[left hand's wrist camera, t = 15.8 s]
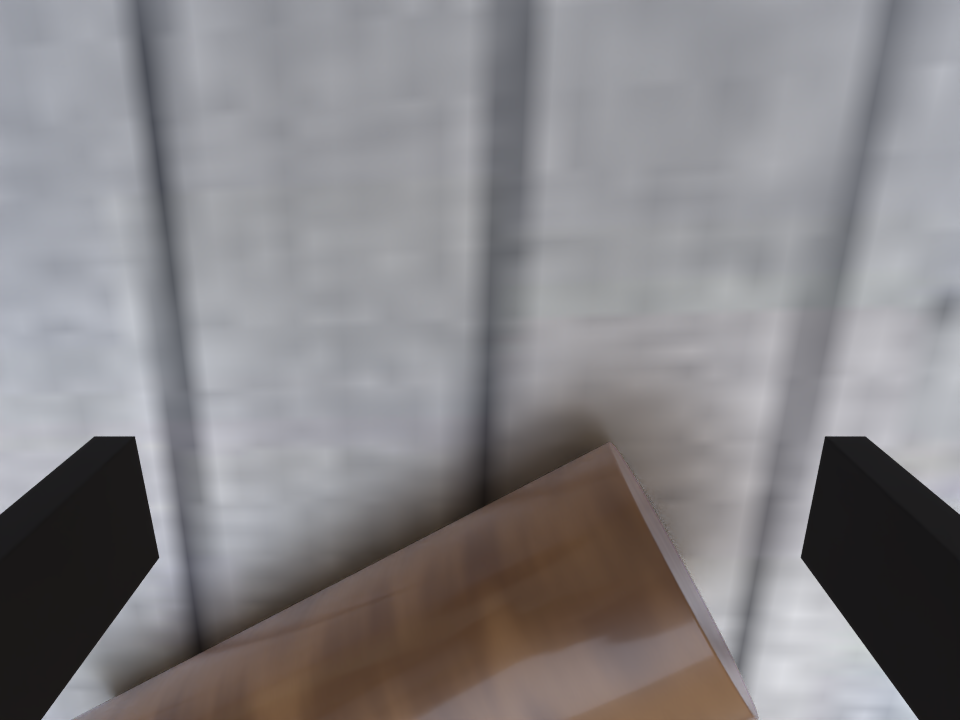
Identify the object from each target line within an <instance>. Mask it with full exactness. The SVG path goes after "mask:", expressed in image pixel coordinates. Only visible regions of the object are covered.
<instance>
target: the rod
mask: <svg viewBox="0 0 960 720" xmlns="http://www.w3.org/2000/svg"><path fill="white" fill-rule="evenodd" d="M72 720H758V714H757V711H756V708H755V705H754V703H753V700H752V698H751V696H750V693H749V691H748V689H747V687H746V685H745V682H744V680H743V678H742V676H741V674H740V672H739V670H738V668H737V666H736V663H735V661H734V659H733V657H732V655H731V653H730V651H729V649H728V647H727V645H726V643H725V641H724V639H723V637H722V635H721V633H720V631H719V629H718V627H717V625H716V623H715V621H714V620H713V618H712V616H711V614H710V612H709V610H708V608H707V606H706V604H705V602H704V600H703V598H702V596H701V595H700V593H699V591H698V589H697V587H696V585H695V583H694V581H693V579H692V577H691V576H690V574H689V572H688V570H687V568H686V566H685V564H684V563H683V561H682V559H681V557H680V555H679V553H678V552H677V550H676V548H675V546H674V544H673V542H672V541H671V539H670V537H669V535H668V533H667V531H666V530H665V528H664V526H663V524H662V523H661V521H660V519H659V517H658V515H657V514H656V512H655V510H654V508H653V507H652V505H651V503H650V501H649V500H648V498H647V496H646V494H645V493H644V491H643V489H642V488H641V486H640V484H639V482H638V481H637V479H636V477H635V476H634V474H633V473H632V471H631V469H630V468H629V466H628V464H627V463H626V461H625V460H624V458H623V457H622V455H621V454H620V452H619V451H618V449H617V448H616V447H615V446H614V444H612V443H611V442H608V443H606V444H604V445H602V446H600V447H598V448H596V449H594V450H592V451H590V452H588V453H587V454H585V455H583V456H581V457H579V458H577V459H575V460H573V461H571V462H569V463H567V464H565V465H563V466H561V467H559V468H558V469H556V470H554V471H552V472H550V473H548V474H546V475H544V476H542V477H540V478H538V479H536V480H534V481H532V482H530V483H528V484H527V485H525V486H523V487H521V488H519V489H517V490H515V491H513V492H511V493H509V494H507V495H505V496H503V497H501V498H499V499H498V500H496V501H494V502H492V503H490V504H488V505H486V506H484V507H482V508H480V509H478V510H476V511H474V512H472V513H470V514H469V515H467V516H465V517H463V518H461V519H459V520H457V521H455V522H453V523H451V524H449V525H447V526H445V527H443V528H441V529H439V530H438V531H436V532H434V533H432V534H430V535H428V536H426V537H424V538H422V539H420V540H418V541H416V542H414V543H412V544H410V545H409V546H407V547H405V548H403V549H401V550H399V551H397V552H395V553H393V554H391V555H389V556H387V557H385V558H383V559H381V560H379V561H378V562H376V563H374V564H372V565H370V566H368V567H366V568H364V569H362V570H360V571H358V572H356V573H354V574H352V575H350V576H349V577H347V578H345V579H343V580H341V581H339V582H337V583H335V584H333V585H331V586H329V587H327V588H325V589H323V590H321V591H319V592H318V593H316V594H314V595H312V596H310V597H308V598H306V599H304V600H302V601H300V602H298V603H296V604H294V605H292V606H290V607H289V608H287V609H285V610H283V611H281V612H279V613H277V614H275V615H273V616H271V617H269V618H267V619H265V620H263V621H261V622H260V623H258V624H256V625H254V626H252V627H250V628H248V629H246V630H244V631H242V632H240V633H238V634H236V635H234V636H232V637H230V638H229V639H227V640H225V641H223V642H221V643H219V644H217V645H215V646H213V647H211V648H209V649H207V650H205V651H203V652H201V653H200V654H198V655H196V656H194V657H192V658H190V659H188V660H186V661H184V662H182V663H180V664H178V665H176V666H174V667H172V668H170V669H169V670H167V671H165V672H163V673H161V674H159V675H157V676H155V677H153V678H151V679H149V680H147V681H145V682H143V683H141V684H140V685H138V686H136V687H134V688H132V689H130V690H128V691H126V692H124V693H122V694H120V695H118V696H116V697H114V698H112V699H111V700H109V701H107V702H105V703H103V704H101V705H99V706H97V707H95V708H93V709H91V710H89V711H87V712H85V713H83V714H81V715H80V716H78V717H76V718H74V719H72Z"/></svg>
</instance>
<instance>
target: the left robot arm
mask: <svg viewBox="0 0 960 720" xmlns="http://www.w3.org/2000/svg"><path fill="white" fill-rule="evenodd" d="M158 559H159V554H158V549H157V544H156V539H155V534H154V529H153V524H152V519H151V514H150V509H149V505H148V500H147V495H146V490H145V485H144V480H143V475H142V470H141V465H140V460H139V455H138V450H137V445H136V440H135V437H93V438H92V439H91V440H90V441H89V442H87V443H86V444H85V445H84V446H83V447H81V448H80V449H79V450H78V451H76V452H75V453H74V454H73V455H72V456H70V457H69V458H68V459H67V460H66V461H64V462H63V463H62V464H61V465H60V466H58V467H57V468H56V469H55V470H54V471H52V472H51V473H50V474H49V475H48V476H46V477H45V478H44V479H43V480H41V481H40V482H39V483H38V484H37V485H35V486H34V487H33V488H32V489H31V490H29V491H28V492H27V493H26V494H25V495H23V496H22V497H21V498H20V499H19V500H17V501H16V502H15V503H14V504H13V505H11V506H10V507H9V508H8V509H6V510H5V511H4V512H3V513H2V514H0V720H41V719H42V718H43V716H44V715H45V714H46V712H47V711H48V710H49V708H50V707H51V705H52V704H53V703H54V701H55V700H56V699H57V697H58V696H59V694H60V693H61V692H62V690H63V689H64V688H65V686H66V685H67V683H68V682H69V681H70V679H71V678H72V677H73V675H74V674H75V673H76V671H77V670H78V668H79V667H80V666H81V664H82V663H83V662H84V660H85V659H86V657H87V656H88V655H89V653H90V652H91V651H92V649H93V648H94V646H95V645H96V644H97V642H98V641H99V640H100V638H101V637H102V635H103V634H104V633H105V631H106V630H107V629H108V627H109V626H110V624H111V623H112V622H113V620H114V619H115V618H116V616H117V615H118V613H119V612H120V611H121V609H122V608H123V607H124V605H125V604H126V602H127V601H128V600H129V598H130V597H131V596H132V594H133V593H134V592H135V590H136V589H137V587H138V586H139V585H140V583H141V582H142V581H143V579H144V578H145V576H146V575H147V574H148V572H149V571H150V570H151V568H152V567H153V565H154V564H155V563H156V561H157V560H158ZM801 559H802V560H803V561H804V563H805V564H806V565H807V567H808V568H809V570H810V571H811V572H812V574H813V575H814V576H815V578H816V579H817V581H818V582H819V583H820V585H821V586H822V587H823V589H824V590H825V592H826V593H827V594H828V596H829V597H830V598H831V600H832V601H833V602H834V604H835V605H836V607H837V608H838V609H839V611H840V612H841V613H842V615H843V616H844V618H845V619H846V620H847V622H848V623H849V624H850V626H851V627H852V629H853V630H854V631H855V633H856V634H857V635H858V637H859V638H860V640H861V641H862V642H863V644H864V645H865V646H866V648H867V649H868V651H869V652H870V653H871V655H872V656H873V657H874V659H875V660H876V662H877V663H878V664H879V666H880V667H881V668H882V670H883V671H884V673H885V674H886V675H887V677H888V678H889V679H890V681H891V682H892V683H893V685H894V686H895V688H896V689H897V690H898V692H899V693H900V694H901V696H902V697H903V699H904V700H905V701H906V703H907V704H908V705H909V707H910V708H911V710H912V711H913V712H914V714H915V715H916V716H917V718H918V719H919V720H960V514H958V513H957V512H956V511H955V510H954V509H952V508H951V507H950V506H949V505H947V504H946V503H945V502H944V501H943V500H941V499H940V498H939V497H938V496H937V495H935V494H934V493H933V492H932V491H931V490H929V489H928V488H927V487H926V486H925V485H923V484H922V483H921V482H920V481H919V480H917V479H916V478H915V477H914V476H912V475H911V474H910V473H909V472H908V471H906V470H905V469H904V468H903V467H902V466H900V465H899V464H898V463H897V462H896V461H894V460H893V459H892V458H891V457H890V456H888V455H887V454H886V453H885V452H884V451H882V450H881V449H880V448H879V447H877V446H876V445H875V444H874V443H873V442H871V441H870V440H869V439H868V438H867V437H825V440H824V445H823V450H822V455H821V460H820V465H819V470H818V475H817V480H816V485H815V490H814V495H813V500H812V504H811V509H810V514H809V519H808V524H807V529H806V534H805V539H804V544H803V549H802V554H801Z"/></svg>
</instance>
